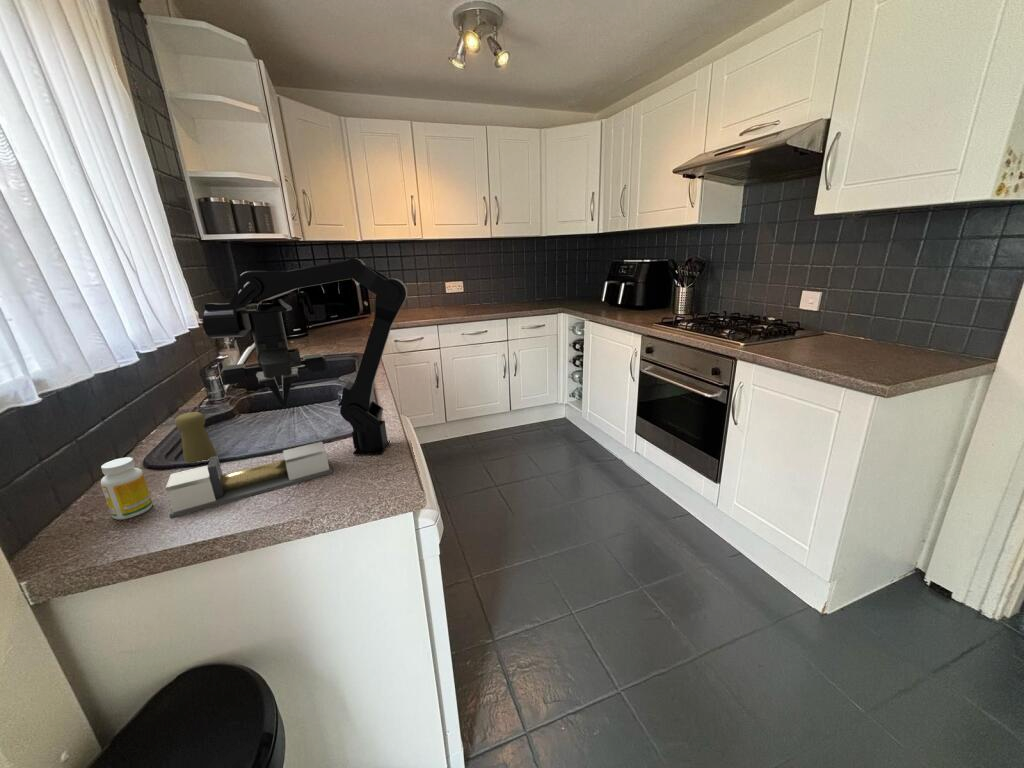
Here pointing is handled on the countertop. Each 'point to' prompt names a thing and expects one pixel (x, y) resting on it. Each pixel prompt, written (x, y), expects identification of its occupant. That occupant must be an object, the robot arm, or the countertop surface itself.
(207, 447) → the cork
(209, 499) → the socket
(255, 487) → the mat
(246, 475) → the bolt
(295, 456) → the sleeve
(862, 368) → the countertop surface
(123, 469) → the supplement bottle
